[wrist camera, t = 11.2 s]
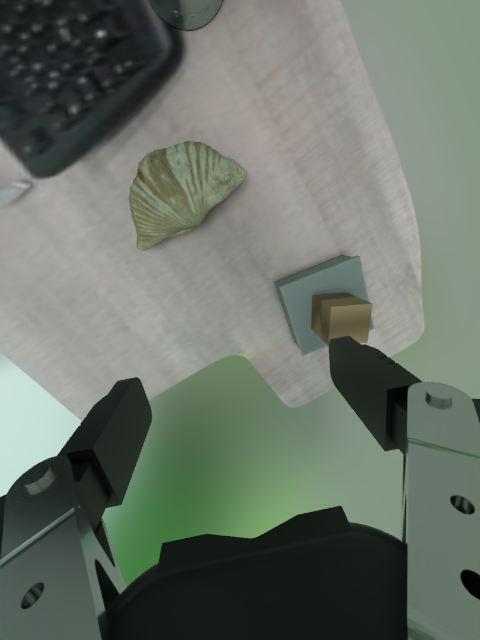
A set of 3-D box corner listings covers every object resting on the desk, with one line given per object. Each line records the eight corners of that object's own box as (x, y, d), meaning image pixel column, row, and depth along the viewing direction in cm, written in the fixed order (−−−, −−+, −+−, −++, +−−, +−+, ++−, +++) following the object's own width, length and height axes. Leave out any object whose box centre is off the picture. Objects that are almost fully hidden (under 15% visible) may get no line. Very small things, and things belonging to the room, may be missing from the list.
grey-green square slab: (272, 280, 38) (279, 287, 33) (341, 253, 37) (359, 256, 33) (293, 342, 42) (302, 355, 37) (356, 318, 41) (374, 328, 37)
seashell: (153, 271, 31) (131, 201, 22) (119, 224, 33) (87, 145, 24) (242, 229, 36) (254, 158, 27) (207, 191, 38) (207, 116, 29)
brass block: (312, 295, 34) (331, 306, 28) (347, 292, 34) (372, 303, 29) (310, 328, 36) (328, 345, 30) (344, 325, 36) (367, 342, 30)
